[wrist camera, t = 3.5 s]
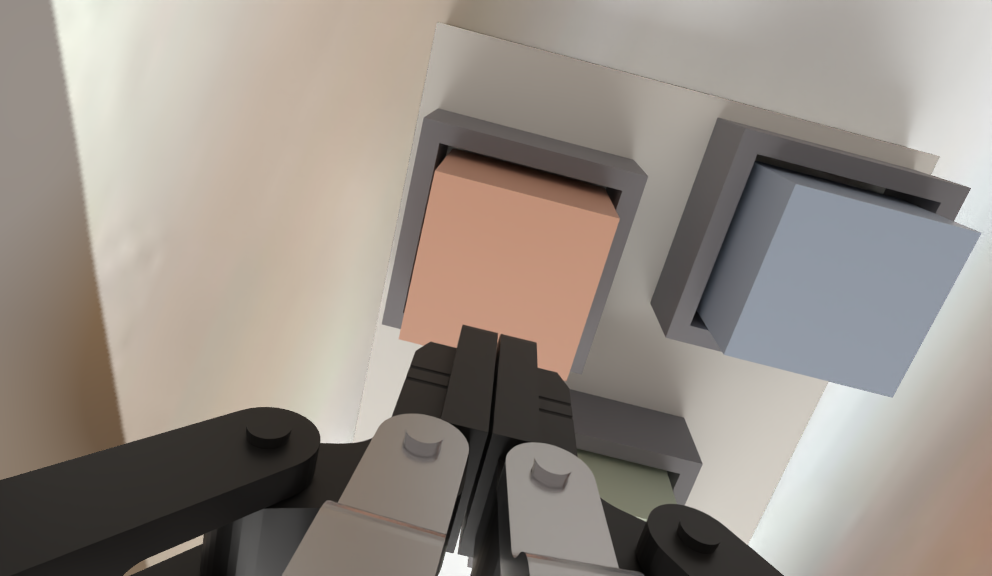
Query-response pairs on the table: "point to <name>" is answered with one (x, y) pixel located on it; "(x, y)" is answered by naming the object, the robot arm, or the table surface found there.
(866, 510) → the table surface
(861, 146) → the button panel
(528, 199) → the terracotta button
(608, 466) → the sage green button
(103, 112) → the table surface
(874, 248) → the slate blue button
